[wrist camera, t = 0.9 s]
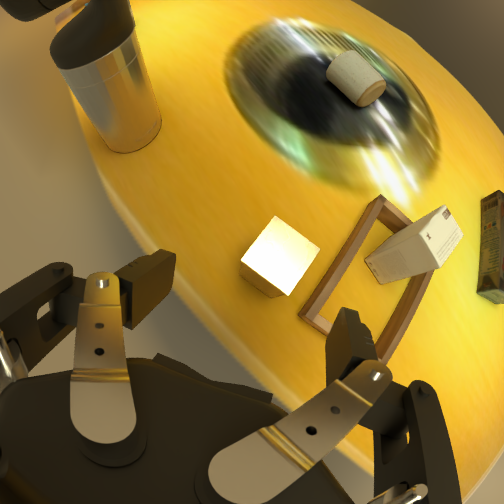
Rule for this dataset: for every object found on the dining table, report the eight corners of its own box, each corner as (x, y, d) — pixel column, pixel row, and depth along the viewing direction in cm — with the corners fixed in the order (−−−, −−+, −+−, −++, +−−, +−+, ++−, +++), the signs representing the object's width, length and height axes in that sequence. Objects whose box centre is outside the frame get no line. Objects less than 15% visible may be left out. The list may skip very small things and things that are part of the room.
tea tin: (238, 275, 32) (240, 259, 22) (262, 243, 33) (275, 215, 23) (270, 299, 31) (288, 295, 22) (293, 267, 32) (320, 249, 22)
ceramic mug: (353, 115, 38) (372, 84, 31) (320, 83, 39) (333, 52, 32) (386, 99, 40) (404, 73, 33) (356, 71, 41) (370, 44, 34)
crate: (297, 315, 31) (305, 315, 28) (368, 203, 35) (380, 194, 31) (368, 366, 30) (382, 371, 27) (427, 255, 34) (441, 250, 31)
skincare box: (380, 286, 33) (441, 273, 21) (361, 258, 33) (417, 234, 21) (407, 258, 34) (466, 237, 22) (390, 232, 34) (445, 202, 22)
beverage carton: (473, 294, 34) (501, 289, 27) (478, 197, 38) (500, 185, 32) (494, 305, 34) (520, 302, 27) (499, 215, 38) (520, 205, 32)
